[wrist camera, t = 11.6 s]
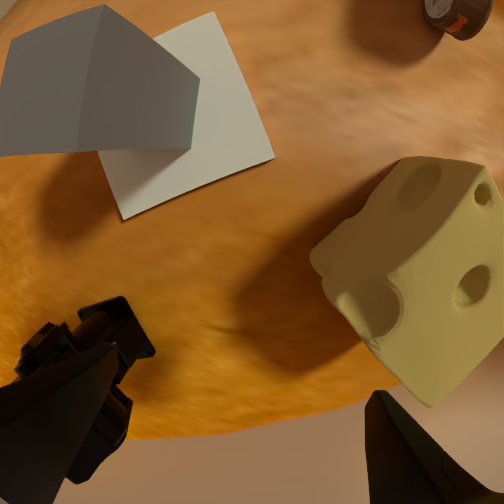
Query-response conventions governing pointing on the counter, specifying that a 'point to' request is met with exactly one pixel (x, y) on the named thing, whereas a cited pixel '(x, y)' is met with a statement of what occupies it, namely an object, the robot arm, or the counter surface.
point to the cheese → (422, 272)
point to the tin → (458, 16)
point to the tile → (205, 126)
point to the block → (94, 89)
